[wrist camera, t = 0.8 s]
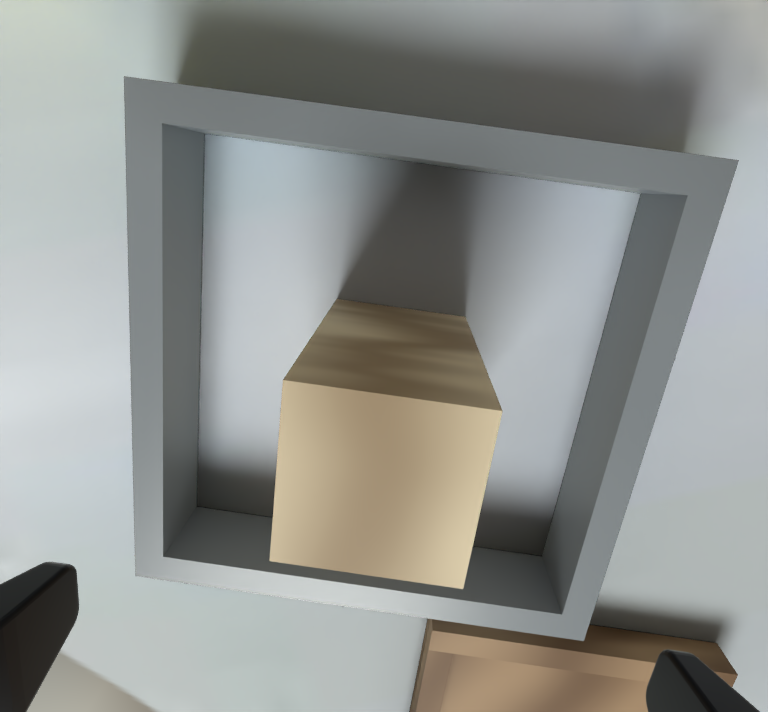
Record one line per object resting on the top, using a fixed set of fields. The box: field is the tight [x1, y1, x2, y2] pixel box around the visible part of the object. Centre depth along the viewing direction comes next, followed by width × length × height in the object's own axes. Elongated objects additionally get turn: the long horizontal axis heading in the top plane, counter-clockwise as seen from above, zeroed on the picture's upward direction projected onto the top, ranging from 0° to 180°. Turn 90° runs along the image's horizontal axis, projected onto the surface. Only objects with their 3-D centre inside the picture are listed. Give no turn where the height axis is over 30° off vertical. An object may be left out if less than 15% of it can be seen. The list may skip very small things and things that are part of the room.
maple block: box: [269, 299, 502, 589], centre depth 15 cm, size 4×4×8 cm
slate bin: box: [124, 76, 739, 641], centre depth 18 cm, size 16×16×3 cm
